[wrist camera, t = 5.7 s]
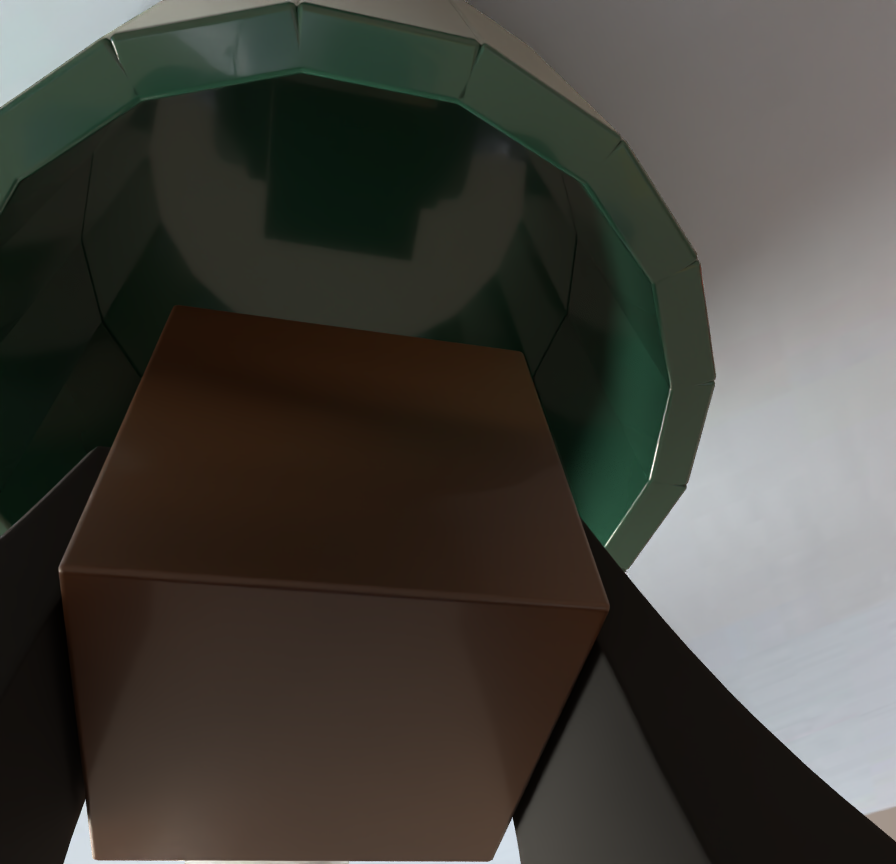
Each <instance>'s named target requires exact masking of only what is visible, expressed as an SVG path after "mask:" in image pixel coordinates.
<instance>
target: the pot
mask: <svg viewBox="0 0 896 864" xmlns="http://www.w3.org/2000/svg"><path fill="white" fill-rule="evenodd" d="M175 305H182V306H190V307H197V308H204V309H212V310H219V311H226V312H234V313H241V314H249V315H256V316H263V317H271V318H278V319H285V320H293V321H300V322H307V323H315V324H322V325H329V326H337V327H344V328H351V329H359V330H366V331H374V332H381V333H388V334H396V335H403V336H410V337H418V338H425V339H432V340H440V341H447V342H454V343H462V344H469V345H476V346H484V347H491V348H499V349H506V350H513V351H520V352H522V353H523V354H524V357H525V360H526V363H527V366H528V369H529V372H530V375H531V378H532V380H533V383H534V386H535V389H536V392H537V395H538V398H539V401H540V404H541V407H542V409H543V412H544V415H545V418H546V421H547V424H548V427H549V430H550V433H551V436H552V438H553V441H554V444H555V447H556V450H557V453H558V456H559V459H560V462H561V465H562V467H563V470H564V473H565V476H566V479H567V482H568V485H569V488H570V491H571V494H572V497H573V499H574V502H575V505H576V508H577V511H578V514H579V516H580V517H581V518H582V520H583V521H584V522H585V523H586V525H587V526H588V527H589V528H590V530H591V531H592V532H593V534H594V535H595V536H596V537H597V539H598V540H599V541H600V542H601V544H602V545H603V546H604V548H605V549H606V550H607V551H608V553H609V554H610V555H611V556H612V558H613V559H614V560H615V561H616V563H617V564H618V565H619V566H620V568H621V569H622V570H623V571H624V573H625V572H626V570H627V569H629V568H630V566H631V565H632V564H633V562H634V561H635V559H636V558H637V557H638V555H639V554H640V552H641V551H642V550H643V548H644V547H645V545H646V544H647V543H648V541H649V540H650V539H651V537H652V536H653V534H654V533H655V532H656V530H657V529H658V527H659V526H660V525H661V523H662V522H663V520H664V519H665V518H666V516H667V515H668V513H669V512H670V511H671V509H672V508H673V506H674V505H675V504H676V502H677V501H678V500H679V498H680V497H681V495H682V494H683V493H684V491H685V490H686V487H687V485H686V484H687V483H688V481H689V478H690V474H691V470H692V467H693V463H694V460H695V456H696V452H697V449H698V445H699V441H700V438H701V434H702V430H703V427H704V423H705V419H706V416H707V412H708V408H709V405H710V401H711V397H712V394H713V390H714V387H715V382H714V380H715V379H716V371H715V364H714V357H713V350H712V342H711V335H710V328H709V321H708V313H707V306H706V299H705V292H704V284H703V277H702V270H701V263H700V262H699V260H698V257H697V253H696V251H695V250H694V248H693V246H692V245H691V243H690V242H689V240H688V238H687V237H686V235H685V234H684V232H683V230H682V229H681V227H680V226H679V224H678V222H677V221H676V219H675V218H674V216H673V214H672V213H671V211H670V210H669V208H668V207H667V205H666V203H665V202H664V200H663V199H662V197H661V195H660V194H659V192H658V191H657V189H656V187H655V186H654V184H653V183H652V181H651V179H650V178H649V176H648V175H647V173H646V171H645V170H644V168H643V167H642V165H641V164H640V162H639V160H638V159H637V157H636V156H635V154H634V152H633V151H632V149H631V148H630V146H629V144H628V143H627V141H626V140H625V139H624V138H623V137H621V135H620V134H619V133H618V132H617V131H616V130H615V129H614V128H613V127H612V126H611V125H610V124H609V123H608V122H607V121H606V120H605V119H604V118H603V117H602V116H601V115H600V114H599V113H598V112H597V111H596V110H595V109H594V108H593V107H592V106H591V105H590V104H588V103H587V102H586V101H585V100H584V99H583V98H582V97H581V96H580V95H579V94H578V93H577V92H576V91H575V90H574V89H573V88H572V87H571V86H570V85H569V84H568V83H567V82H566V81H565V80H564V79H563V78H562V77H561V76H560V75H559V74H558V73H557V72H556V71H555V70H554V69H553V68H552V67H551V66H550V65H548V64H547V63H546V62H545V61H544V60H543V59H542V58H541V57H540V56H539V55H538V54H537V53H536V52H535V51H534V50H533V49H532V48H531V47H530V46H528V45H527V44H526V43H524V42H523V41H521V40H520V39H518V38H517V37H516V36H514V35H513V34H511V33H510V32H508V31H507V30H506V29H504V28H503V27H501V26H500V25H499V24H497V23H496V22H495V21H494V20H492V19H491V18H489V17H488V16H486V15H485V14H483V13H482V12H480V11H479V10H477V9H476V8H474V7H473V6H471V5H470V4H469V3H467V2H466V1H464V0H162V1H161V2H159V3H157V4H156V5H154V6H152V7H151V8H149V9H147V10H146V11H144V12H142V13H141V14H139V15H137V16H136V17H134V18H132V19H131V20H129V21H127V22H126V23H124V24H123V25H121V26H119V27H118V28H116V29H114V30H113V31H111V32H109V33H108V34H106V35H104V36H103V37H101V38H99V39H98V40H97V41H95V42H94V43H92V44H91V45H89V46H88V47H87V48H85V49H84V50H82V51H81V52H79V53H78V54H76V55H75V56H74V57H72V58H71V59H69V60H68V61H66V62H65V63H63V64H62V65H61V66H59V67H58V68H56V69H55V70H53V71H52V72H50V73H49V74H48V75H46V76H45V77H43V78H42V79H40V80H39V81H37V82H36V83H35V84H33V85H32V86H30V87H29V88H27V89H26V90H25V91H23V92H22V93H20V94H19V95H17V96H16V97H14V98H13V99H12V100H10V101H9V102H7V103H6V104H4V105H3V106H1V107H0V536H2V535H3V534H4V533H5V532H6V531H7V530H8V529H9V528H11V527H12V526H13V525H14V524H15V523H16V522H17V521H18V520H19V519H20V518H21V517H22V516H24V515H25V514H26V513H27V512H28V511H29V510H30V509H31V508H32V507H33V506H34V505H35V504H36V503H37V502H38V501H40V500H41V499H42V498H43V497H44V496H45V495H46V494H47V493H48V492H49V491H50V490H51V489H52V488H53V487H54V486H55V485H56V484H57V483H58V482H59V481H60V480H61V479H62V478H63V477H64V476H65V475H66V474H67V473H68V472H69V471H71V470H72V469H73V468H74V467H75V466H76V465H77V464H78V463H79V462H80V461H81V460H82V459H83V458H84V457H85V456H86V455H87V454H88V453H89V452H90V451H92V450H93V449H95V448H96V447H98V446H103V447H112V445H113V442H114V440H115V438H116V436H117V433H118V431H119V429H120V427H121V424H122V422H123V420H124V418H125V415H126V413H127V411H128V408H129V406H130V404H131V402H132V399H133V397H134V395H135V393H136V390H137V388H138V386H139V383H140V381H141V379H142V377H143V374H144V372H145V370H146V368H147V365H148V363H149V361H150V358H151V356H152V354H153V352H154V349H155V347H156V345H157V343H158V340H159V338H160V336H161V333H162V331H163V329H164V327H165V324H166V322H167V320H168V318H169V315H170V313H171V311H172V309H173V307H174V306H175Z"/></svg>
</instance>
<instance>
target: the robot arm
mask: <svg viewBox="0 0 896 864" xmlns="http://www.w3.org/2000/svg"><path fill="white" fill-rule="evenodd" d="M110 449H111V447H103V446H98V447H96V448H95V449H93V450H92V451H90V452H89V453H88V454H87V455H86V456H85V457H84V458H83V459H82V460H81V461H80V462H79V463H78V464H77V465H76V466H75V467H74V468H73V469H72V470H71V471H69V472H68V473H67V474H66V475H65V476H64V477H63V478H62V479H61V480H60V481H59V482H58V483H57V484H56V485H55V486H54V487H53V488H52V489H51V490H50V491H49V492H48V493H47V494H46V495H45V496H44V497H43V498H42V499H41V500H40V501H38V502H37V503H36V504H35V505H34V506H33V507H32V508H31V509H30V510H29V511H28V512H27V513H26V514H25V515H24V516H22V517H21V518H20V519H19V520H18V521H17V522H16V523H15V524H14V525H13V526H12V527H11V528H9V529H8V530H7V531H6V532H5V533H4V534H3V535H2V536H0V864H63V863H64V860H65V857H66V854H67V851H68V847H69V844H70V841H71V838H72V835H73V832H74V829H75V827H76V824H77V821H78V818H79V816H80V813H81V810H82V807H83V804H84V802H85V799H86V798H85V790H84V781H83V773H82V765H81V756H80V748H79V739H78V731H77V723H76V714H75V706H74V697H73V689H72V681H71V672H70V664H69V655H68V647H67V639H66V630H65V622H64V613H63V605H62V597H61V588H60V580H59V571H58V567H59V565H60V563H61V561H62V558H63V556H64V554H65V552H66V549H67V547H68V545H69V542H70V540H71V538H72V536H73V533H74V531H75V529H76V527H77V524H78V522H79V520H80V517H81V515H82V513H83V511H84V508H85V506H86V504H87V502H88V499H89V497H90V495H91V492H92V490H93V488H94V486H95V483H96V481H97V479H98V477H99V474H100V472H101V470H102V467H103V465H104V463H105V461H106V458H107V456H108V454H109V452H110ZM579 517H580V516H579ZM580 520H581V523H582V526H583V528H584V531H585V534H586V537H587V540H588V543H589V546H590V549H591V552H592V555H593V557H594V560H595V563H596V566H597V569H598V572H599V575H600V578H601V581H602V584H603V587H604V589H605V592H606V595H607V598H608V601H609V605H610V609H609V613H608V615H607V617H606V619H605V621H604V623H603V625H602V628H601V630H600V632H599V634H598V636H597V638H596V640H595V642H594V645H593V647H592V649H591V651H590V653H589V655H588V657H587V660H586V662H585V664H584V666H583V668H582V670H581V672H580V674H579V677H578V679H577V681H576V683H575V685H574V687H573V689H572V691H571V694H570V696H569V698H568V700H567V702H566V704H565V706H564V708H563V711H562V713H561V715H560V717H559V719H558V721H557V723H556V725H555V728H554V730H553V732H552V734H551V736H550V738H549V740H548V742H547V745H546V747H545V749H544V751H543V753H542V755H541V757H540V759H539V762H538V764H537V766H536V768H535V770H534V772H533V774H532V776H531V779H530V781H529V783H528V785H527V787H526V789H525V791H524V794H523V796H522V798H521V800H520V802H519V804H518V806H517V808H516V811H515V813H514V815H513V821H514V826H515V831H516V836H517V841H518V848H519V854H520V861H521V864H896V842H895V841H894V840H893V839H892V838H891V837H890V836H888V835H887V834H886V833H885V832H884V831H882V830H881V829H880V828H879V827H878V826H876V825H875V824H874V823H873V822H872V821H870V820H869V819H868V818H867V817H865V816H864V815H863V814H862V813H861V812H859V811H858V810H857V809H856V808H855V807H853V806H852V805H851V804H850V803H849V802H847V801H846V800H845V799H844V798H843V797H841V796H840V795H839V794H838V793H837V792H836V791H835V790H833V789H832V788H831V787H830V786H829V785H828V784H827V783H825V782H824V781H823V780H822V779H821V778H820V777H819V776H818V775H816V774H815V773H814V772H813V771H812V770H811V769H810V768H808V767H807V766H806V765H805V764H804V763H803V762H802V761H801V760H800V759H799V758H798V757H797V756H796V755H794V754H793V753H792V752H791V751H790V750H789V749H788V748H787V747H786V746H785V745H784V744H783V743H782V742H781V741H780V740H779V739H778V738H776V737H775V736H774V735H773V734H772V733H771V732H770V731H769V730H768V729H767V728H766V727H765V726H764V725H763V724H762V723H761V722H760V721H758V720H757V719H756V718H755V717H754V716H753V715H752V714H751V713H750V712H749V711H748V710H747V709H746V708H745V707H744V706H743V705H742V704H741V703H740V702H739V701H738V700H737V699H736V698H735V697H734V696H733V695H732V694H731V693H730V692H729V691H728V690H727V689H726V687H725V686H724V685H723V684H722V683H721V682H720V681H719V680H718V679H717V678H716V677H715V676H714V675H713V674H712V672H711V671H710V670H709V669H708V668H707V667H706V666H705V665H704V664H703V663H702V662H701V661H700V660H699V659H698V657H697V656H696V655H695V654H694V653H693V652H692V651H691V650H690V649H689V648H688V647H687V646H686V644H685V643H684V642H683V641H682V640H681V639H680V638H679V636H678V635H677V634H676V633H675V632H674V631H673V630H672V629H671V627H670V626H669V625H668V624H667V623H666V622H665V621H664V619H663V618H662V617H661V616H660V615H659V614H658V612H657V611H656V610H655V609H654V608H653V606H652V605H651V604H650V603H649V602H648V600H647V599H646V598H645V597H644V596H643V595H642V593H641V592H640V591H639V590H638V589H637V587H636V586H635V585H634V584H633V582H632V581H631V580H630V579H629V577H628V576H627V575H626V574H625V573H624V571H623V570H622V569H621V568H620V566H619V565H618V564H617V563H616V561H615V560H614V559H613V558H612V556H611V555H610V554H609V553H608V551H607V550H606V549H605V548H604V546H603V545H602V544H601V542H600V541H599V540H598V539H597V537H596V536H595V535H594V534H593V532H592V531H591V530H590V528H589V527H588V526H587V525H586V523H585V522H584V521H583V520H582V518H581V517H580Z"/></svg>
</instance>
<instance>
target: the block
mask: <svg viewBox="0 0 896 864" xmlns="http://www.w3.org/2000/svg"><path fill="white" fill-rule="evenodd" d="M58 571H59V580H60V588H61V597H62V605H63V613H64V622H65V630H66V639H67V647H68V655H69V664H70V672H71V681H72V689H73V697H74V706H75V714H76V723H77V731H78V739H79V748H80V756H81V765H82V773H83V781H84V790H85V798H86V807H87V815H88V823H89V832H90V840H91V849H92V856H93V859H95V860H140V861H465V862H488V861H491V860H492V859H493V857H494V855H495V853H496V851H497V849H498V847H499V845H500V842H501V840H502V838H503V836H504V834H505V832H506V830H507V828H508V825H509V823H510V821H511V819H512V817H513V815H514V813H515V811H516V808H517V806H518V804H519V802H520V800H521V798H522V796H523V794H524V791H525V789H526V787H527V785H528V783H529V781H530V779H531V776H532V774H533V772H534V770H535V768H536V766H537V764H538V762H539V759H540V757H541V755H542V753H543V751H544V749H545V747H546V745H547V742H548V740H549V738H550V736H551V734H552V732H553V730H554V728H555V725H556V723H557V721H558V719H559V717H560V715H561V713H562V711H563V708H564V706H565V704H566V702H567V700H568V698H569V696H570V694H571V691H572V689H573V687H574V685H575V683H576V681H577V679H578V677H579V674H580V672H581V670H582V668H583V666H584V664H585V662H586V660H587V657H588V655H589V653H590V651H591V649H592V647H593V645H594V642H595V640H596V638H597V636H598V634H599V632H600V630H601V628H602V625H603V623H604V621H605V619H606V617H607V615H608V613H609V609H610V605H609V601H608V598H607V595H606V592H605V589H604V587H603V584H602V581H601V578H600V575H599V572H598V569H597V566H596V563H595V560H594V557H593V555H592V552H591V549H590V546H589V543H588V540H587V537H586V534H585V531H584V528H583V526H582V523H581V520H580V517H579V514H578V511H577V508H576V505H575V502H574V499H573V497H572V494H571V491H570V488H569V485H568V482H567V479H566V476H565V473H564V470H563V467H562V465H561V462H560V459H559V456H558V453H557V450H556V447H555V444H554V441H553V438H552V436H551V433H550V430H549V427H548V424H547V421H546V418H545V415H544V412H543V409H542V407H541V404H540V401H539V398H538V395H537V392H536V389H535V386H534V383H533V380H532V378H531V375H530V372H529V369H528V366H527V363H526V360H525V357H524V354H523V353H522V352H520V351H513V350H506V349H499V348H491V347H484V346H476V345H469V344H462V343H454V342H447V341H440V340H432V339H425V338H418V337H410V336H403V335H396V334H388V333H381V332H374V331H366V330H359V329H351V328H344V327H337V326H329V325H322V324H315V323H307V322H300V321H293V320H285V319H278V318H271V317H263V316H256V315H249V314H241V313H234V312H226V311H219V310H212V309H204V308H197V307H190V306H182V305H175V306H174V307H173V309H172V311H171V313H170V315H169V318H168V320H167V322H166V324H165V327H164V329H163V331H162V333H161V336H160V338H159V340H158V343H157V345H156V347H155V349H154V352H153V354H152V356H151V358H150V361H149V363H148V365H147V368H146V370H145V372H144V374H143V377H142V379H141V381H140V383H139V386H138V388H137V390H136V393H135V395H134V397H133V399H132V402H131V404H130V406H129V408H128V411H127V413H126V415H125V418H124V420H123V422H122V424H121V427H120V429H119V431H118V433H117V436H116V438H115V440H114V442H113V445H112V447H111V449H110V452H109V454H108V456H107V458H106V461H105V463H104V465H103V467H102V470H101V472H100V474H99V477H98V479H97V481H96V483H95V486H94V488H93V490H92V492H91V495H90V497H89V499H88V502H87V504H86V506H85V508H84V511H83V513H82V515H81V517H80V520H79V522H78V524H77V527H76V529H75V531H74V533H73V536H72V538H71V540H70V542H69V545H68V547H67V549H66V552H65V554H64V556H63V558H62V561H61V563H60V565H59V567H58Z"/></svg>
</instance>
